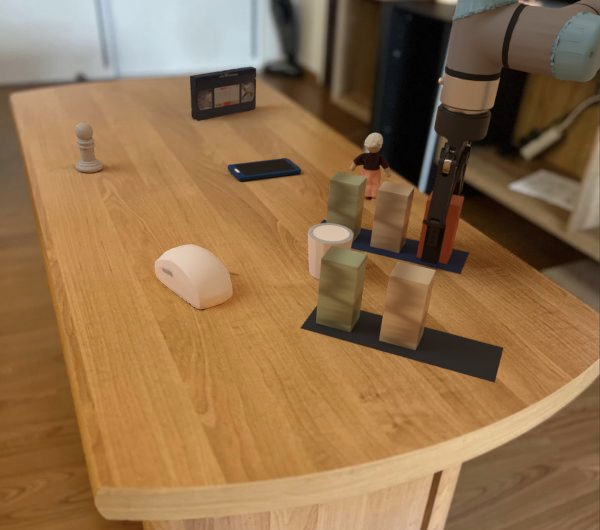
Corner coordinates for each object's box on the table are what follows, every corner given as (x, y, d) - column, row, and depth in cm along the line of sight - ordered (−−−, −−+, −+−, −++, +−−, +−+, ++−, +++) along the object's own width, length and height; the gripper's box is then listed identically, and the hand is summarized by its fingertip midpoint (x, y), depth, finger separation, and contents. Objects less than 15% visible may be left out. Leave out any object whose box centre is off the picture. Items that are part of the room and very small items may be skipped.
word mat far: (468, 254, 105) (469, 252, 105) (459, 276, 99) (460, 273, 99) (323, 221, 112) (323, 219, 112) (306, 239, 106) (306, 237, 106)
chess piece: (97, 174, 124) (91, 128, 118) (71, 172, 124) (63, 125, 119) (107, 164, 128) (101, 119, 123) (82, 162, 128) (74, 117, 123)
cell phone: (226, 168, 130) (226, 164, 129) (287, 160, 135) (288, 157, 134) (239, 181, 124) (239, 177, 124) (302, 173, 130) (302, 169, 129)
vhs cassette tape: (196, 121, 153) (194, 77, 147) (190, 117, 155) (187, 74, 149) (257, 109, 163) (257, 68, 157) (250, 106, 165) (250, 65, 159)
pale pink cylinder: (299, 279, 96) (301, 237, 92) (312, 259, 101) (315, 218, 97) (342, 288, 94) (346, 247, 90) (354, 267, 100) (359, 227, 95)
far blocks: (405, 243, 106) (414, 186, 100) (399, 253, 103) (408, 195, 97) (332, 226, 110) (338, 171, 104) (325, 236, 107) (329, 179, 101)
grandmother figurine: (385, 196, 123) (395, 131, 115) (387, 204, 120) (397, 138, 112) (346, 194, 123) (353, 128, 115) (347, 202, 120) (353, 135, 112)
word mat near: (502, 349, 84) (503, 347, 84) (493, 384, 78) (494, 382, 78) (320, 301, 91) (321, 299, 91) (299, 330, 85) (300, 328, 85)
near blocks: (422, 334, 85) (436, 270, 79) (415, 350, 82) (429, 284, 76) (325, 308, 89) (331, 245, 83) (315, 323, 86) (320, 258, 80)
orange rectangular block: (451, 253, 104) (464, 196, 98) (446, 264, 101) (459, 206, 95) (422, 247, 106) (432, 190, 100) (416, 257, 103) (426, 199, 97)
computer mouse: (187, 263, 98) (184, 226, 94) (238, 299, 91) (238, 261, 87) (151, 276, 94) (147, 238, 91) (201, 315, 87) (199, 275, 83)
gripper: (453, 85, 98) (428, 218, 112) (421, 122, 82) (396, 273, 96) (502, 92, 96) (470, 227, 110) (479, 132, 80) (445, 285, 94)
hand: (436, 249), depth 103 cm, fingers open, 9 cm apart
